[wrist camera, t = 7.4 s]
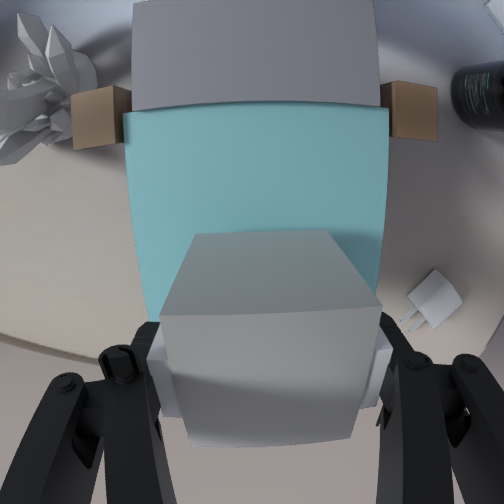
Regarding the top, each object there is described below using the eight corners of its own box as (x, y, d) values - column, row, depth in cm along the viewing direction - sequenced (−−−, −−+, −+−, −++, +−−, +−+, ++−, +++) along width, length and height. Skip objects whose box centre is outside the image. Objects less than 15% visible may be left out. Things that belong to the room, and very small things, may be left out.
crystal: (111, 25, 22) (20, -31, 8) (88, 158, 27) (-20, 190, 13) (32, 35, 21) (-66, 9, 7) (14, 153, 26) (-91, 183, 12)
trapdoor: (147, 31, 16) (120, 6, 12) (355, 27, 16) (384, 3, 12) (167, 301, 23) (150, 342, 18) (350, 295, 23) (371, 333, 18)
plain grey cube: (195, 233, 15) (158, 315, 8) (325, 229, 15) (382, 305, 8) (207, 340, 17) (191, 446, 10) (318, 336, 17) (349, 437, 10)
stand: (143, 96, 25) (70, 77, 13) (358, 91, 25) (436, 70, 13) (146, 150, 27) (75, 169, 15) (359, 145, 27) (436, 160, 15)
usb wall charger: (446, 288, 32) (464, 305, 29) (404, 328, 34) (418, 348, 30) (432, 267, 31) (451, 282, 28) (387, 309, 33) (401, 329, 29)
